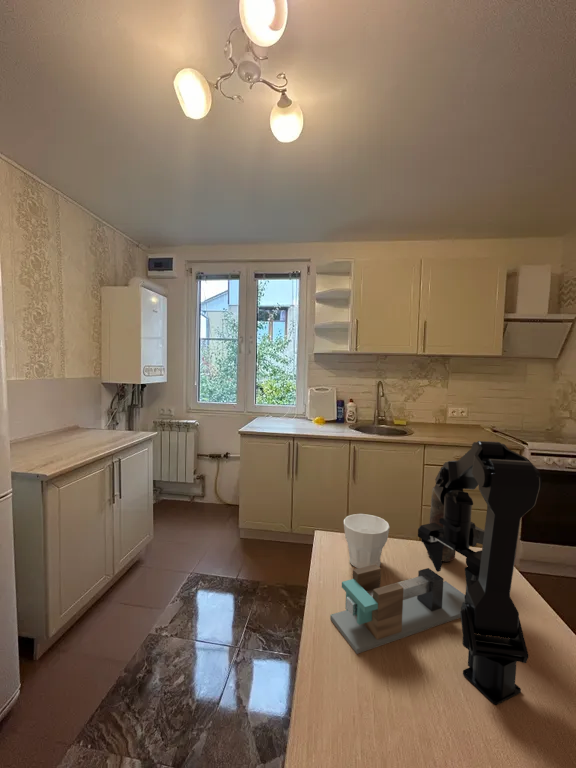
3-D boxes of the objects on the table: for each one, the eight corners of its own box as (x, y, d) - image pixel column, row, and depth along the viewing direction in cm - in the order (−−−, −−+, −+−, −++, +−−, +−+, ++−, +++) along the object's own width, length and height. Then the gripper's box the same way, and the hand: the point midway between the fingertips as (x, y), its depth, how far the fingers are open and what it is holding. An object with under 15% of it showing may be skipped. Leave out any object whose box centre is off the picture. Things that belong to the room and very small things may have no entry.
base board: (480, 610, 80) (481, 606, 80) (356, 654, 68) (356, 649, 68) (445, 584, 90) (445, 580, 90) (330, 619, 77) (330, 614, 77)
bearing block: (401, 636, 72) (403, 587, 72) (376, 644, 70) (378, 594, 69) (374, 607, 81) (375, 564, 80) (351, 614, 78) (353, 569, 78)
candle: (457, 555, 104) (460, 487, 102) (454, 567, 97) (458, 495, 96) (429, 548, 107) (432, 482, 106) (424, 559, 101) (428, 490, 100)
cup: (338, 569, 95) (339, 529, 95) (346, 546, 107) (347, 510, 106) (386, 579, 91) (388, 537, 91) (389, 554, 103) (390, 517, 103)
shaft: (442, 608, 80) (443, 578, 79) (354, 637, 70) (356, 604, 70) (427, 596, 84) (428, 567, 83) (342, 622, 74) (343, 591, 74)
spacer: (377, 626, 70) (377, 603, 70) (364, 630, 69) (365, 606, 68) (353, 600, 78) (353, 578, 77) (341, 603, 77) (341, 581, 76)
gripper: (520, 528, 77) (515, 598, 78) (450, 497, 94) (447, 555, 95) (483, 537, 73) (479, 611, 74) (417, 503, 90) (414, 563, 91)
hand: (453, 581), depth 84 cm, fingers open, 9 cm apart
